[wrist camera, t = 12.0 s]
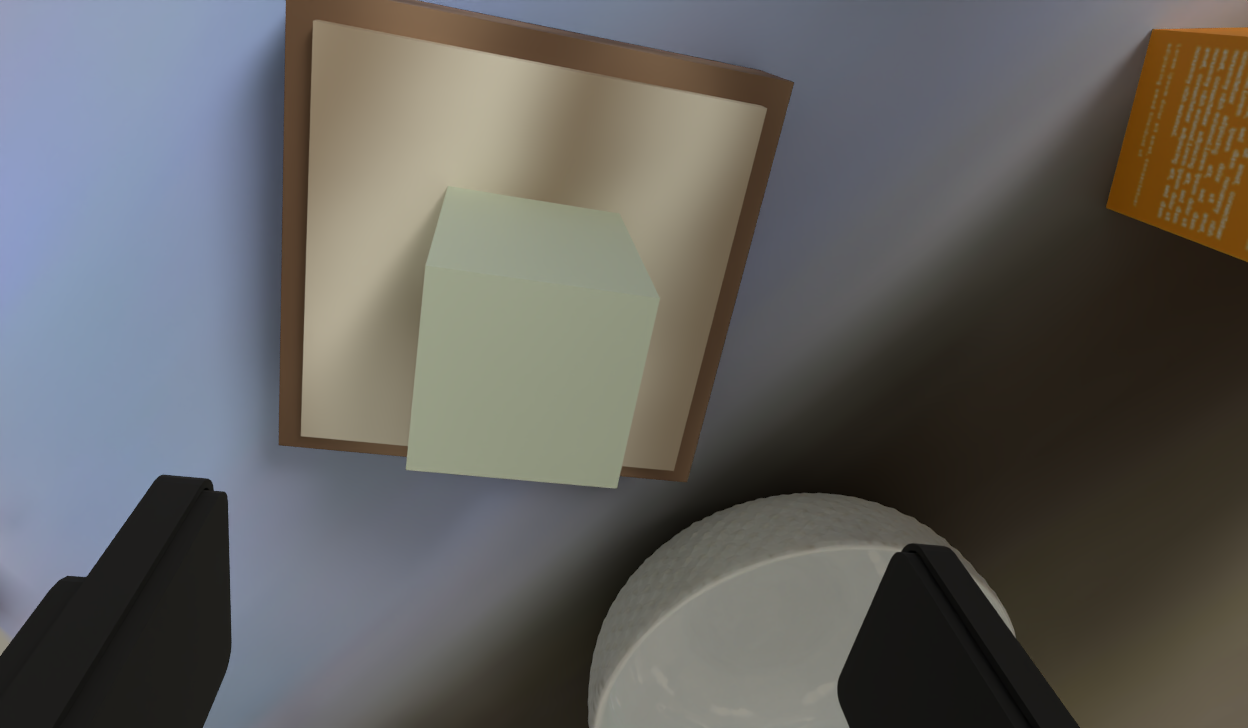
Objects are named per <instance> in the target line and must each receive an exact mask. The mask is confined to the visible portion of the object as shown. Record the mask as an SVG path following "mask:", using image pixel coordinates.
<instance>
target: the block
mask: <svg viewBox="0 0 1248 728" xmlns="http://www.w3.org/2000/svg"><path fill="white" fill-rule="evenodd" d="M659 301H660V297H659V295H658V293H657V291H656V289H655V287H654V285H653V283H652V281H651V278H650V276H649V274H648V272H647V270H646V268H645V266H644V264H643V262H642V260H641V258H640V255H639V253H638V251H637V249H636V247H635V245H634V243H633V241H632V239H631V237H630V235H629V232H628V230H627V228H626V226H625V224H624V222H623V220H622V218H621V216H620V214H619V213H613V212H607V211H601V210H595V209H588V208H582V207H576V206H570V205H563V204H557V203H551V202H545V201H539V200H532V199H526V198H520V197H514V196H507V195H501V194H495V193H489V192H482V191H476V190H470V189H464V188H458V187H451V186H448V188H447V191H446V195H445V198H444V202H443V205H442V209H441V212H440V216H439V219H438V223H437V227H436V230H435V234H434V237H433V241H432V244H431V248H430V251H429V255H428V258H427V262H426V265H425V275H424V286H423V296H422V307H421V317H420V327H419V338H418V348H417V359H416V369H415V379H414V390H413V400H412V411H411V421H410V431H409V442H408V452H407V463H406V470H412V471H423V472H435V473H446V474H457V475H469V476H480V477H491V478H502V479H514V480H525V481H536V482H548V483H559V484H570V485H581V486H593V487H604V488H615V489H617V485H618V481H619V477H620V472H621V468H622V463H623V459H624V455H625V450H626V446H627V441H628V437H629V433H630V428H631V424H632V419H633V415H634V411H635V406H636V402H637V397H638V393H639V389H640V384H641V380H642V375H643V371H644V367H645V362H646V358H647V354H648V349H649V345H650V340H651V336H652V332H653V327H654V323H655V318H656V314H657V310H658V305H659Z"/></svg>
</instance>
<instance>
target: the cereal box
mask: <svg viewBox="0 0 1248 728" xmlns="http://www.w3.org/2000/svg"><path fill="white" fill-rule="evenodd" d="M1106 208H1108V209H1110V210H1113V211H1115V212H1118V213H1121V214H1123V215H1126V216H1129V217H1131V218H1134V219H1136V220H1139V221H1142V222H1144V223H1147V224H1149V225H1152V226H1155V227H1157V228H1160V229H1162V230H1165V231H1168V232H1170V233H1173V234H1176V235H1178V236H1181V237H1183V238H1186V239H1189V240H1191V241H1194V242H1196V243H1199V244H1202V245H1204V246H1207V247H1209V248H1212V249H1215V250H1217V251H1220V252H1223V253H1225V254H1228V255H1230V256H1233V257H1236V258H1238V259H1241V260H1243V261H1246V262H1248V27H1243V28H1190V29H1152V33H1151V37H1150V41H1149V45H1148V48H1147V52H1146V56H1145V60H1144V64H1143V67H1142V71H1141V75H1140V79H1139V83H1138V87H1137V90H1136V94H1135V98H1134V102H1133V106H1132V110H1131V113H1130V117H1129V121H1128V125H1127V129H1126V132H1125V136H1124V140H1123V144H1122V148H1121V152H1120V155H1119V159H1118V163H1117V167H1116V171H1115V175H1114V178H1113V182H1112V186H1111V190H1110V194H1109V197H1108V201H1107V205H1106Z"/></svg>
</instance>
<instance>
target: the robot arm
mask: <svg viewBox="0 0 1248 728" xmlns="http://www.w3.org/2000/svg"><path fill="white" fill-rule="evenodd" d="M230 653H231V605H230V567H229V528H228V499H227V494H226V493H225V492H221V491H214V490H213V484H212V482H211V480H209V479H205V478H194V477H183V476H172V475H161V476H159V477H158V478H157V479H156V480H155V481H154V482H153V484H152V485H151V487H150V488H149V489H148V491H147V492H146V494H145V495H144V497H143V498H142V499H141V501H140V502H139V504H138V505H137V506H136V508H135V509H134V511H133V512H132V514H131V515H130V516H129V518H128V519H127V521H126V522H125V523H124V525H123V526H122V528H121V529H120V531H119V532H118V533H117V535H116V536H115V538H114V539H113V540H112V542H111V543H110V545H109V546H108V548H107V549H106V550H105V552H104V553H103V555H102V556H101V557H100V559H99V560H98V562H97V563H96V565H95V566H94V567H93V569H92V570H91V572H90V573H89V574H88V576H87V577H75V576H66V577H65V578H63V579H61V580H59V581H58V582H57V583H56V584H55V585H54V586H53V587H52V588H51V589H50V590H49V592H48V593H47V594H46V596H45V597H44V598H43V600H42V601H41V602H40V604H39V605H38V606H37V608H36V609H35V610H34V612H33V613H32V614H31V616H30V617H29V618H28V620H27V621H26V622H25V624H24V625H23V626H22V628H21V629H20V630H19V632H18V633H17V634H16V636H15V637H14V638H13V640H12V641H11V642H10V644H9V645H8V647H7V648H6V649H5V651H4V652H3V653H2V655H1V656H0V728H203V726H204V723H205V721H206V719H207V716H208V714H209V711H210V709H211V707H212V704H213V702H214V699H215V697H216V695H217V692H218V690H219V688H220V685H221V683H222V680H223V678H224V676H225V673H226V670H227V667H228V663H229V659H230ZM837 695H838V700H839V703H840V706H841V709H842V711H843V714H844V716H845V718H846V721H847V723H848V725H849V728H1080V727H1079V726H1078V724H1077V723H1076V721H1075V720H1074V719H1073V717H1072V716H1071V715H1070V713H1069V712H1068V710H1067V709H1066V708H1065V706H1064V705H1063V703H1062V702H1061V701H1060V699H1059V698H1058V696H1057V695H1056V694H1055V692H1054V691H1053V689H1052V688H1051V687H1050V685H1049V684H1048V682H1047V681H1046V680H1045V678H1044V677H1043V675H1042V674H1041V673H1040V671H1039V670H1038V668H1037V667H1036V666H1035V664H1034V663H1033V661H1032V660H1031V659H1030V657H1029V656H1028V655H1027V653H1026V652H1025V650H1024V649H1023V648H1022V646H1021V645H1020V643H1019V642H1018V641H1017V639H1016V638H1015V636H1014V635H1013V634H1012V632H1011V631H1010V629H1009V628H1008V627H1007V625H1006V624H1005V622H1004V621H1003V620H1002V618H1001V617H1000V615H999V614H998V613H997V611H996V610H995V608H994V607H993V606H992V604H991V603H990V601H989V600H988V599H987V597H986V596H985V595H984V593H983V592H982V590H981V589H980V588H979V586H978V585H977V583H976V582H975V581H974V579H973V578H972V576H971V575H970V574H969V572H968V571H967V569H966V568H965V567H964V565H963V564H962V562H961V561H960V560H959V558H958V557H957V555H956V554H955V553H954V552H953V551H952V550H951V549H950V548H948V547H946V546H939V545H928V544H917V543H911V544H907V545H906V546H905V547H904V548H903V549H902V551H901V552H896V553H895V554H894V555H893V556H892V558H891V559H890V562H889V564H888V566H887V568H886V571H885V573H884V575H883V578H882V580H881V582H880V584H879V587H878V589H877V591H876V594H875V596H874V598H873V600H872V603H871V605H870V607H869V610H868V612H867V614H866V616H865V619H864V621H863V623H862V626H861V628H860V630H859V632H858V635H857V637H856V639H855V642H854V644H853V646H852V648H851V651H850V653H849V655H848V658H847V660H846V662H845V664H844V667H843V669H842V671H841V674H840V676H839V679H838V684H837Z"/></svg>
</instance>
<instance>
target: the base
mask: <svg viewBox="0 0 1248 728" xmlns="http://www.w3.org/2000/svg"><path fill="white" fill-rule="evenodd" d="M793 85H794V82H791V81H789V80H786V79H783V78H780V77H778V76H775V75H772V74H769V73H767V72H764V71H761V70H756V69H752V68H747V67H742V66H737V65H732V64H727V63H722V62H717V61H712V60H707V59H702V58H697V57H693V56H688V55H683V54H678V53H673V52H668V51H663V50H658V49H653V48H648V47H643V46H639V45H634V44H629V43H624V42H619V41H614V40H609V39H604V38H599V37H594V36H589V35H584V34H580V33H575V32H570V31H565V30H560V29H555V28H550V27H545V26H540V25H535V24H530V23H525V22H521V21H516V20H511V19H506V18H501V17H496V16H491V15H486V14H481V13H476V12H471V11H467V10H462V9H457V8H452V7H447V6H442V5H437V4H432V3H427V2H422V1H417V0H286V29H285V90H284V151H283V212H282V273H281V334H280V395H279V445H282V446H293V447H304V448H315V449H326V450H337V451H348V452H359V453H370V454H381V455H392V456H403V457H407V452H408V442H409V431H410V421H411V411H412V400H413V390H414V379H415V369H416V359H417V348H418V338H419V327H420V317H421V307H422V296H423V286H424V275H425V265H426V262H427V258H428V255H429V251H430V248H431V244H432V241H433V237H434V234H435V230H436V227H437V223H438V219H439V216H440V212H441V209H442V205H443V202H444V198H445V195H446V191H447V188H448V186H451V187H458V188H464V189H470V190H476V191H482V192H489V193H495V194H501V195H507V196H514V197H520V198H526V199H532V200H539V201H545V202H551V203H557V204H563V205H570V206H576V207H582V208H588V209H595V210H601V211H607V212H613V213H619V214H620V216H621V218H622V220H623V222H624V224H625V226H626V228H627V230H628V232H629V235H630V237H631V239H632V241H633V243H634V245H635V247H636V249H637V251H638V253H639V255H640V258H641V260H642V262H643V264H644V266H645V268H646V270H647V272H648V274H649V276H650V278H651V281H652V283H653V285H654V287H655V289H656V291H657V293H658V295H659V297H660V301H659V305H658V310H657V314H656V318H655V323H654V327H653V332H652V336H651V340H650V345H649V349H648V354H647V358H646V362H645V367H644V371H643V375H642V380H641V384H640V389H639V393H638V397H637V402H636V406H635V411H634V415H633V419H632V424H631V428H630V433H629V437H628V441H627V446H626V450H625V455H624V459H623V463H622V468H621V472H620V476H624V477H635V478H646V479H657V480H668V481H679V482H687V480H688V477H689V473H690V469H691V466H692V462H693V458H694V454H695V451H696V447H697V443H698V439H699V436H700V432H701V428H702V424H703V421H704V417H705V413H706V410H707V406H708V402H709V398H710V395H711V391H712V387H713V383H714V380H715V376H716V372H717V368H718V365H719V361H720V357H721V354H722V350H723V346H724V342H725V339H726V335H727V331H728V327H729V324H730V320H731V316H732V313H733V309H734V305H735V301H736V298H737V294H738V290H739V286H740V283H741V279H742V275H743V271H744V268H745V264H746V260H747V257H748V253H749V249H750V245H751V242H752V238H753V234H754V230H755V227H756V223H757V219H758V216H759V212H760V208H761V204H762V201H763V197H764V193H765V189H766V186H767V182H768V178H769V174H770V171H771V167H772V163H773V160H774V156H775V152H776V148H777V145H778V141H779V137H780V133H781V130H782V126H783V122H784V119H785V115H786V111H787V107H788V104H789V100H790V96H791V92H792V89H793Z"/></svg>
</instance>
